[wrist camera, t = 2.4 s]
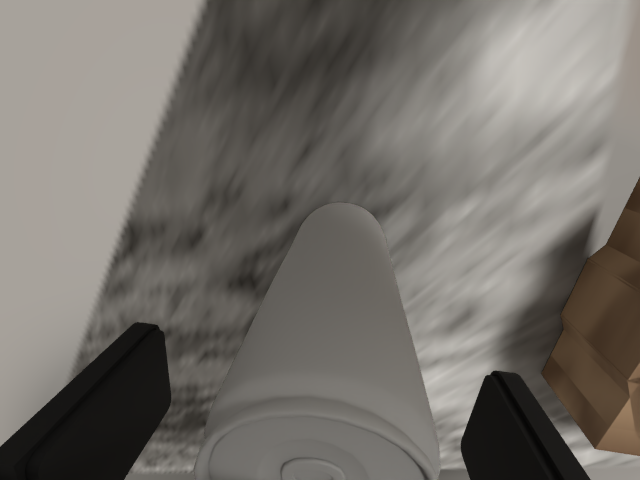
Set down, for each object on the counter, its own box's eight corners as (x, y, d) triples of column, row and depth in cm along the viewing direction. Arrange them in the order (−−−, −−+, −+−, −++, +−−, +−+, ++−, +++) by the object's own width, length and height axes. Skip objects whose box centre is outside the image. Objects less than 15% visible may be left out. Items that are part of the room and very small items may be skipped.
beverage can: (300, 280, 18) (211, 556, 7) (293, 199, 16) (156, 397, 5) (384, 281, 17) (438, 583, 6) (388, 198, 15) (472, 415, 4)
